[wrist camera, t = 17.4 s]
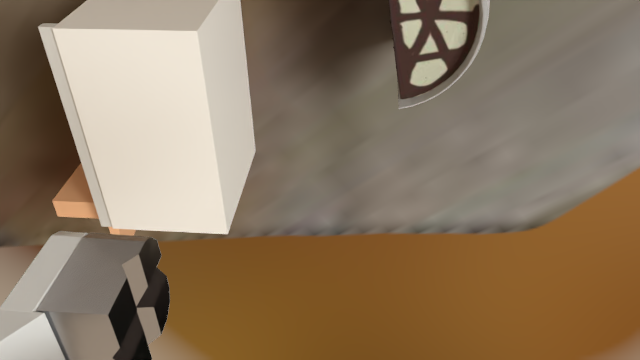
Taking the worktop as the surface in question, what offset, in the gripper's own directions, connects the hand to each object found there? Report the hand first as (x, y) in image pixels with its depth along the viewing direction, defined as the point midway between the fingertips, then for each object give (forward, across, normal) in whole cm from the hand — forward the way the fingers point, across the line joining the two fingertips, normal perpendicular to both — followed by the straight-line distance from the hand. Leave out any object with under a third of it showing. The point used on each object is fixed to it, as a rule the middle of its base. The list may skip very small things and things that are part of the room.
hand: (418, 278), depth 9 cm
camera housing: (+37, +16, +14) cm, 43 cm away
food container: (+37, -3, +6) cm, 38 cm away
